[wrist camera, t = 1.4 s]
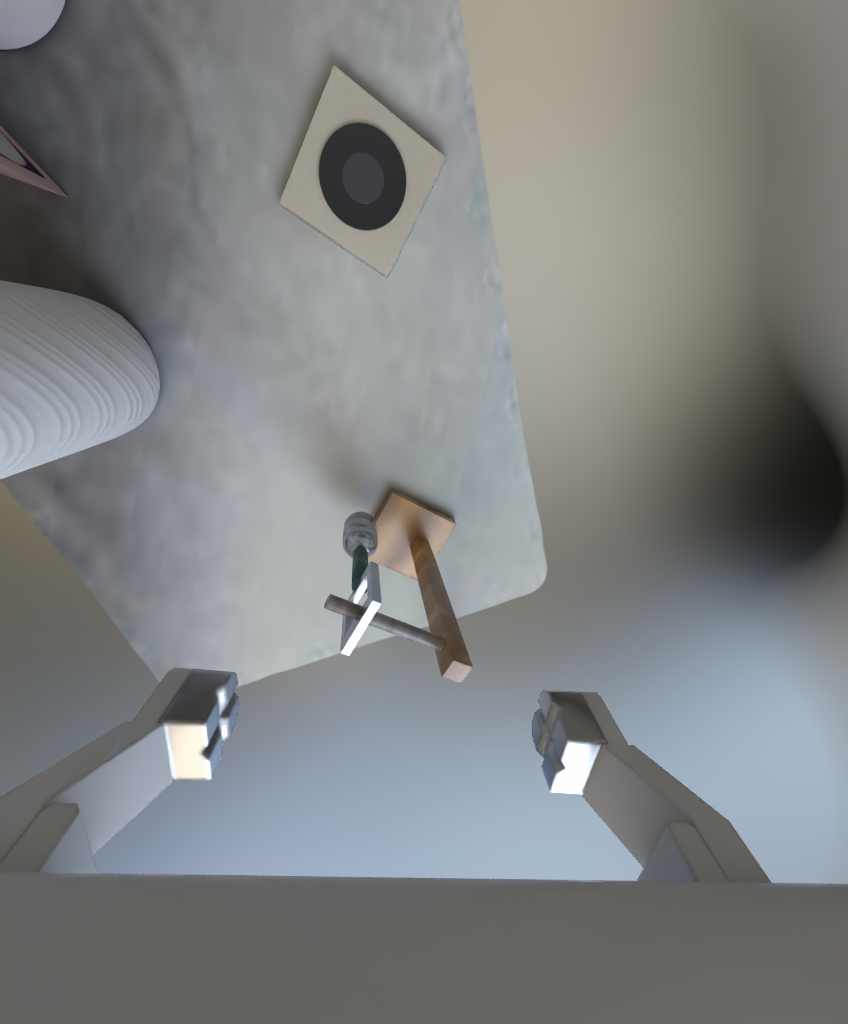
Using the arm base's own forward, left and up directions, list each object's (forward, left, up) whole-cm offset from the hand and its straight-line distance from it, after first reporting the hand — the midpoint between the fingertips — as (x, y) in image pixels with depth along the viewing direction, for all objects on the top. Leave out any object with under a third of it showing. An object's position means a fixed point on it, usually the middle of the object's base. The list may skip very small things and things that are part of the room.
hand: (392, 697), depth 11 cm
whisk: (+5, -11, -40) cm, 41 cm away
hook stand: (+9, -11, -42) cm, 45 cm away
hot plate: (-11, +21, -42) cm, 49 cm away
